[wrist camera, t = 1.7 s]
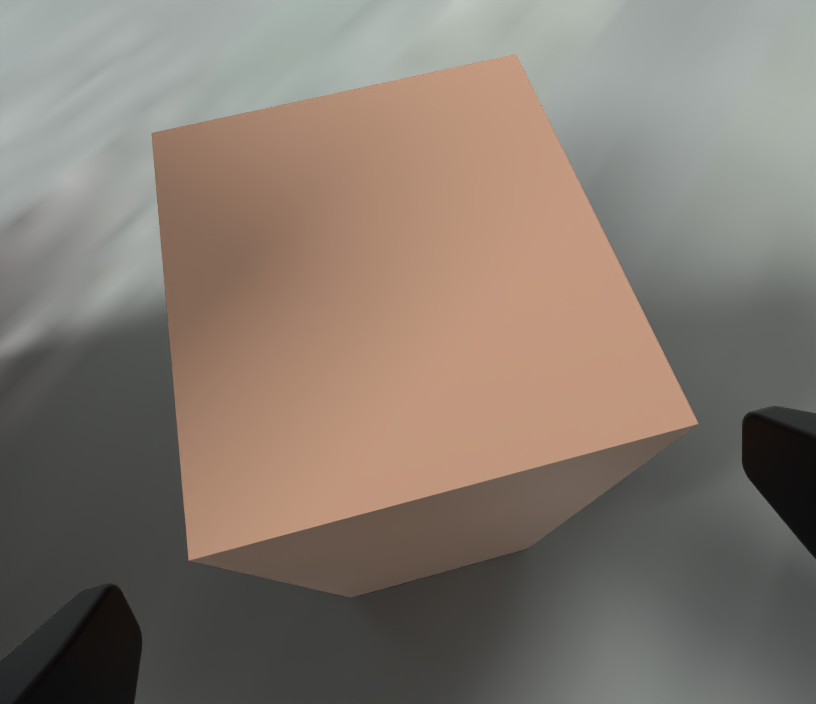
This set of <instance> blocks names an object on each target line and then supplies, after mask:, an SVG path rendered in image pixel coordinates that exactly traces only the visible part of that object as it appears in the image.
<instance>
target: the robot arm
mask: <svg viewBox="0 0 816 704" xmlns="http://www.w3.org/2000/svg"><path fill="white" fill-rule="evenodd" d="M742 464H743V468H744V471H745V473H746V475H747V477H748V478H749V480H750V481H751V482H752V483H753V485H754V486H755V487H756V488H757V489H758V491H759V492H760V493H761V494H762V496H763V497H764V498H765V499H766V500H767V502H768V503H769V504H770V505H771V506H772V508H773V509H774V510H775V511H776V512H777V514H778V515H779V516H780V517H781V519H782V520H783V521H784V522H785V523H786V525H787V526H788V527H789V528H790V529H791V531H792V532H793V533H794V534H795V535H796V537H797V538H798V539H799V540H800V542H801V543H802V544H803V545H804V546H805V548H806V549H807V550H808V551H809V552H810V553H811V555H812V556H813V557H814V558H815V559H816V413H811V412H805V411H800V410H794V409H789V408H784V407H778V406H772V407H767V408H763V409H760V410H756V411H752V412H749V413H748V414H746V415H745V417H744V419H743V422H742ZM141 651H142V634H141V630H140V627H139V624H138V622H137V620H136V618H135V616H134V614H133V612H132V610H131V608H130V606H129V604H128V602H127V600H126V599H125V597H124V595H123V593H122V591H121V589H120V588H119V587H118V586H117V585H115V584H106V585H102V586H98V587H94V588H91V589H87V590H84V591H82V592H80V593H79V594H78V595H76V596H75V597H74V598H73V599H72V600H71V601H70V602H68V603H67V604H66V605H65V606H64V607H63V608H62V609H60V610H59V611H58V612H57V613H56V614H55V615H54V616H52V617H51V618H50V619H49V620H48V621H47V622H46V623H45V624H43V625H42V626H41V627H40V628H39V629H38V630H37V631H35V632H34V633H33V634H32V635H31V636H30V637H29V638H27V639H26V640H25V641H24V642H23V643H22V644H21V645H19V646H18V647H17V648H16V649H15V650H14V651H13V652H11V653H10V654H9V655H8V656H7V657H6V658H5V659H3V660H2V661H1V662H0V704H134V701H135V694H136V687H137V680H138V673H139V665H140V658H141Z"/></svg>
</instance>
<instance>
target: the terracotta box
mask: <svg viewBox="0 0 816 704" xmlns="http://www.w3.org/2000/svg"><path fill="white" fill-rule="evenodd" d="M152 145H153V156H154V168H155V179H156V191H157V202H158V214H159V225H160V237H161V248H162V260H163V271H164V283H165V294H166V306H167V317H168V329H169V340H170V352H171V363H172V375H173V387H174V398H175V410H176V421H177V433H178V444H179V456H180V467H181V479H182V490H183V502H184V513H185V525H186V536H187V548H188V559H189V561H193V562H197V563H201V564H206V565H210V566H214V567H219V568H223V569H228V570H232V571H236V572H241V573H245V574H250V575H254V576H258V577H263V578H267V579H271V580H276V581H280V582H285V583H289V584H293V585H298V586H302V587H306V588H311V589H315V590H320V591H324V592H328V593H333V594H337V595H341V596H346V597H350V598H352V597H356V596H360V595H363V594H367V593H370V592H374V591H378V590H381V589H385V588H388V587H392V586H396V585H399V584H403V583H406V582H410V581H414V580H417V579H421V578H424V577H428V576H432V575H435V574H439V573H442V572H446V571H450V570H453V569H457V568H460V567H464V566H467V565H471V564H475V563H478V562H482V561H485V560H489V559H493V558H496V557H500V556H503V555H507V554H511V553H514V552H518V551H521V550H525V549H528V548H529V547H531V546H532V545H533V544H535V543H536V542H537V541H539V540H540V539H542V538H543V537H544V536H546V535H547V534H548V533H550V532H551V531H552V530H554V529H555V528H557V527H558V526H559V525H561V524H562V523H563V522H565V521H566V520H568V519H569V518H570V517H572V516H573V515H574V514H576V513H577V512H579V511H580V510H581V509H583V508H584V507H585V506H587V505H588V504H589V503H591V502H592V501H594V500H595V499H596V498H598V497H599V496H600V495H602V494H603V493H605V492H606V491H607V490H609V489H610V488H611V487H613V486H614V485H616V484H617V483H618V482H620V481H621V480H622V479H624V478H625V477H626V476H628V475H629V474H631V473H632V472H633V471H635V470H636V469H637V468H639V467H640V466H642V465H643V464H644V463H646V462H647V461H648V460H650V459H651V458H653V457H654V456H655V455H657V454H658V453H659V452H661V451H662V450H663V449H665V448H666V447H668V446H669V445H670V444H672V443H673V442H674V441H676V440H677V439H679V438H680V437H681V436H683V435H684V434H685V433H687V432H688V431H690V430H691V429H692V428H694V427H695V426H696V425H698V422H697V419H696V417H695V415H694V413H693V411H692V409H691V407H690V405H689V403H688V401H687V399H686V397H685V395H684V393H683V391H682V389H681V387H680V385H679V383H678V381H677V379H676V377H675V375H674V373H673V371H672V369H671V367H670V365H669V363H668V361H667V359H666V357H665V355H664V353H663V351H662V349H661V347H660V345H659V343H658V340H657V338H656V336H655V334H654V332H653V330H652V328H651V326H650V324H649V322H648V320H647V318H646V316H645V314H644V312H643V310H642V308H641V306H640V304H639V302H638V300H637V298H636V296H635V294H634V292H633V290H632V288H631V286H630V284H629V282H628V280H627V278H626V276H625V274H624V272H623V270H622V268H621V266H620V264H619V261H618V259H617V257H616V255H615V253H614V251H613V249H612V247H611V245H610V243H609V241H608V239H607V237H606V235H605V233H604V231H603V229H602V227H601V225H600V223H599V221H598V219H597V217H596V215H595V213H594V211H593V209H592V207H591V205H590V203H589V201H588V199H587V197H586V195H585V193H584V191H583V189H582V187H581V185H580V182H579V180H578V178H577V176H576V174H575V172H574V170H573V168H572V166H571V164H570V162H569V160H568V158H567V156H566V154H565V152H564V150H563V148H562V146H561V144H560V142H559V140H558V138H557V136H556V134H555V132H554V130H553V128H552V126H551V124H550V122H549V120H548V118H547V116H546V114H545V112H544V110H543V108H542V105H541V103H540V101H539V99H538V97H537V95H536V93H535V91H534V89H533V87H532V85H531V83H530V81H529V79H528V77H527V75H526V73H525V71H524V69H523V67H522V65H521V63H520V61H519V59H518V57H517V55H516V54H515V55H510V56H505V57H501V58H496V59H492V60H487V61H482V62H478V63H473V64H469V65H464V66H459V67H455V68H450V69H446V70H441V71H436V72H432V73H427V74H422V75H418V76H413V77H409V78H404V79H399V80H395V81H390V82H386V83H381V84H376V85H372V86H367V87H362V88H358V89H353V90H349V91H344V92H339V93H335V94H330V95H326V96H321V97H316V98H312V99H307V100H303V101H298V102H293V103H289V104H284V105H279V106H275V107H270V108H266V109H261V110H256V111H252V112H247V113H243V114H238V115H233V116H229V117H224V118H219V119H215V120H210V121H206V122H201V123H196V124H192V125H187V126H183V127H178V128H173V129H169V130H164V131H159V132H155V133H152Z"/></svg>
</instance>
